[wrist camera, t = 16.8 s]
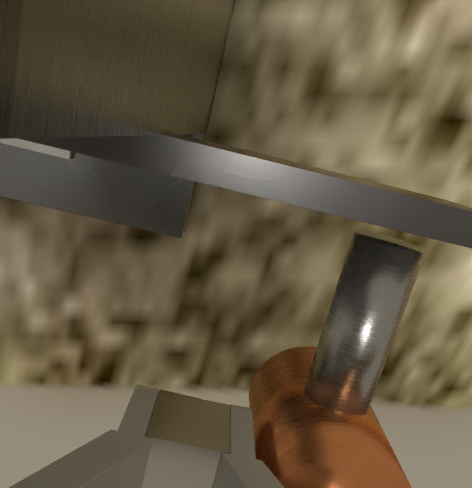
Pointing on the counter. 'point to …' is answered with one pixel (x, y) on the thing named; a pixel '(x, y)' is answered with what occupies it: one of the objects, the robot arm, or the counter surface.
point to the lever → (338, 378)
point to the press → (154, 122)
